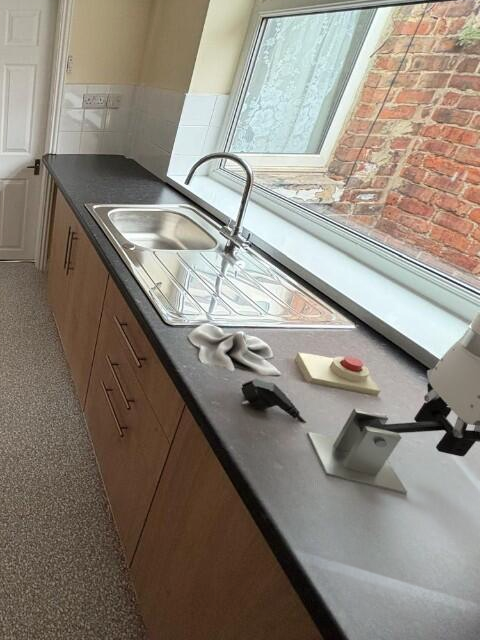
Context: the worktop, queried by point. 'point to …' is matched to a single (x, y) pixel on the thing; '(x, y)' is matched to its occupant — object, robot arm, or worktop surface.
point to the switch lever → (410, 425)
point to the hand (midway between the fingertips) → (437, 436)
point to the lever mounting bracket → (360, 452)
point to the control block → (335, 374)
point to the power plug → (268, 397)
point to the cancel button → (352, 363)
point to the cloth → (232, 350)
